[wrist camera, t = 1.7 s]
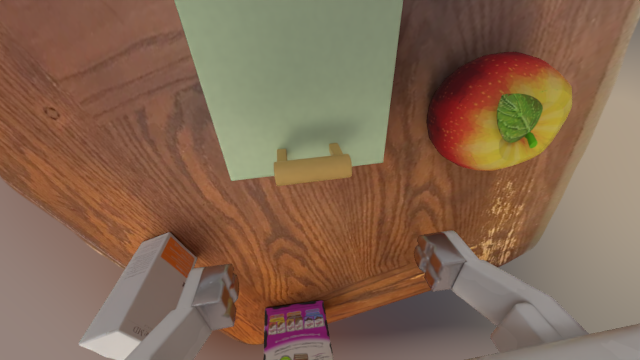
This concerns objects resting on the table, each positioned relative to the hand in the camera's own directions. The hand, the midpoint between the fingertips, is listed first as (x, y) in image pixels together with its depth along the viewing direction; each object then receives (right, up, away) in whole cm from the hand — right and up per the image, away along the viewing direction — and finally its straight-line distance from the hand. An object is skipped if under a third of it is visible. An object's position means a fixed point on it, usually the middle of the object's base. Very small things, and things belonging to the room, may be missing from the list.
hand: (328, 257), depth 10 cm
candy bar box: (-5, -22, +35) cm, 42 cm away
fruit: (+15, +12, +16) cm, 25 cm away
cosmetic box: (-21, -6, +22) cm, 31 cm away
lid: (-2, +10, +6) cm, 12 cm away
